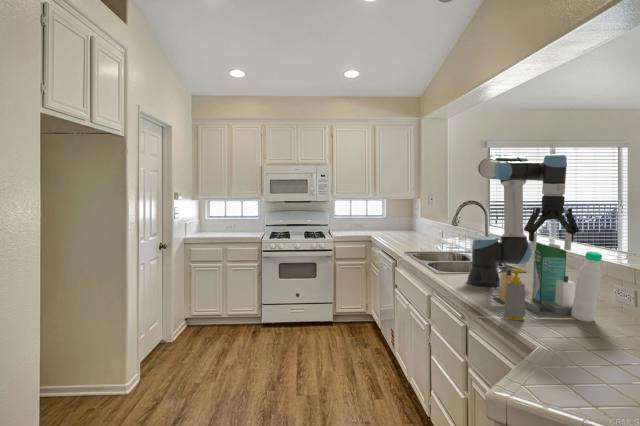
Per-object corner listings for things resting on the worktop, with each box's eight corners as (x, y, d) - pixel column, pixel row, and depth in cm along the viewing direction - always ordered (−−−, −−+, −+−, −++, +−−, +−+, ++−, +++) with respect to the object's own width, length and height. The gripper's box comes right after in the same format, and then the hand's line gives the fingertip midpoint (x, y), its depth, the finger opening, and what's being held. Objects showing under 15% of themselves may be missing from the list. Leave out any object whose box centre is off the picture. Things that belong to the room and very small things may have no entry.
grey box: (524, 308, 154) (525, 273, 153) (577, 308, 154) (579, 274, 153) (536, 315, 145) (538, 278, 144) (593, 316, 145) (595, 279, 144)
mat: (490, 299, 166) (490, 297, 166) (513, 299, 166) (513, 298, 166) (501, 305, 156) (501, 304, 156) (525, 306, 156) (526, 304, 156)
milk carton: (563, 306, 157) (567, 245, 156) (539, 304, 159) (542, 244, 158) (555, 300, 166) (557, 242, 165) (532, 298, 168) (534, 241, 166)
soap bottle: (518, 322, 137) (520, 272, 136) (500, 316, 142) (502, 268, 141) (529, 319, 140) (531, 270, 139) (510, 313, 146) (513, 266, 145)
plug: (499, 299, 163) (501, 269, 163) (510, 299, 163) (511, 269, 163) (504, 302, 159) (506, 271, 158) (515, 302, 159) (517, 271, 158)
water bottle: (588, 324, 137) (601, 257, 131) (567, 316, 142) (578, 252, 137) (597, 319, 141) (610, 254, 135) (575, 311, 146) (587, 248, 141)
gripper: (526, 195, 145) (523, 251, 146) (592, 195, 146) (588, 251, 147) (516, 194, 153) (513, 248, 154) (578, 195, 153) (575, 248, 155)
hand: (550, 250), depth 151 cm, fingers open, 13 cm apart
